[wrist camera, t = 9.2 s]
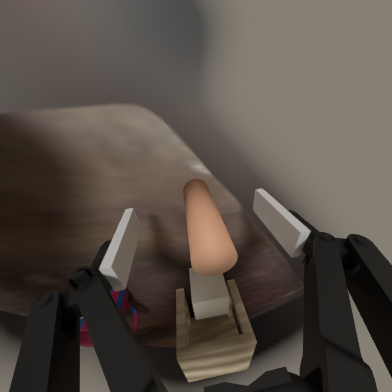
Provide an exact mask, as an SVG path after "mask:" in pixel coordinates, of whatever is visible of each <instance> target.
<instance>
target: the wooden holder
mask: <svg viewBox="0 0 392 392" xmlns="http://www.w3.org/2000/svg"><path fill="white" fill-rule="evenodd" d="M227 290H228V293H229V314H224V315H219V316H214V317H209V318H204V319H199V320H196V318H191V316H190V312H189V308H188V304H187V300H186V296H185V291H184V288H181V289H176V320H177V360H178V362H179V364H180V366H181V368H182V370H183V372H184V374H185V376H186V378H187V380H188V382H192V381H196V380H201V379H205V378H209V377H214V376H219V375H223V374H228V373H232V372H237V371H241V370H246V369H248V367H249V364H250V361H251V358H252V355H253V352H254V349H255V345H256V343H257V341H256V338H255V335H254V333H253V331H252V328H251V325H250V322H249V319H248V317H247V314H246V311H245V308H244V305H243V302H242V300H241V297H240V294H239V291H238V288H237V286H236V283H235V280H234V279H231V280H227ZM233 306H234V310H235V313H236V316H237V320H238V323H239V326H240V330H241V333H242V334H241V335H239V334H238V330H237V327H236V323H235V320H234V316H233V313H232V307H233Z"/></svg>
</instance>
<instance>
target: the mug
mask: <svg viewBox="0 0 392 392" xmlns="http://www.w3.org/2000/svg"><path fill="white" fill-rule="evenodd" d="M110 294H111V295H112V297H113V299H114V301H115V302H116V304H117V306H118V307H119V309H120V311H121V313H122V314H123V316H124V312H125V308H128V309H129V310H130V311H131V312H132V313H133V316H134V326H133V330H132V331H133V333H135V331H136V329H137V325H138V314H137V311H136V309H135V308H134V307H133V306H132V305H131V304H130V303H128V302H127V300H128V296H129V291H128V289H127V288H126V289H125V290H120V291H114V290H113V288H111V291H110ZM80 345H81V346H87V347H94V346H93V343H92V340H91V337H90V335H89V332H88V329H87V327H86V324H85V321H84V318H83V317H81V318H80Z"/></svg>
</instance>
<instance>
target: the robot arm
mask: <svg viewBox="0 0 392 392" xmlns="http://www.w3.org/2000/svg"><path fill="white" fill-rule="evenodd" d="M253 210H254V212H255V213H256V214H257V215H258V217H259V218H260V219H261V220H262V222H263V223H264V224H265V225H266V227H267V228H268V229H269V230H270V232H271V233H272V234H273V235H274V237H275V238H276V239H277V240H278V242H279V243H280V244H281V245H282V247H283V248H284V249H285V250H286V251H287V253H288V254H289V255H290V256H291V257H296V256H300V255H301V252H302V251H303V252H304V253H305V254H306V255H305V257H304V259H303V262H302V263H303V264H305V265H304V322H303V323H304V326H303V356H302V361H301V365H300V376H298V375H296V374H294V373H291V372H288V371H287V369H286V367H282V368H278V369H274V370H271V371H266V372H265V373H264V374H262V375H261V376H260V377H259V378H258V379H256V380H255V381H254V382H253V383H251V384H250V385H249V386H245V385H239V384H232V383H226V382H223V383H219V384H215V385H211V386H207V387H204V392H378V391H377V387H376V382H375V379H374V376H373V372H372V370H371V368H370V367H369V365H367V364H366V363H365V362H364V361H363V359H362V357H361V353H360V348H359V343H358V339H357V333H356V329H355V324H354V319H353V314H352V309H351V305H350V300H349V295H348V291H349V293H350V295H351V297H352V299H353V301H354V303H355V305H356V306H357V309H358V311H359V313H360V315H361V317H362V319H363V321H364V323H365V325H366V327H367V329H368V331H369V333H370V335H371V337H372V339H373V341H374V343H375V345H376V347H377V349H378V351H379V353H380V355H381V357H382V359H383V361H384V363H385V365H386V367H387V369H388V371H389V373H390V375H391V377H392V265H391V264H390V263H389V261H388V260H387V259H386V258H385V257H384V256H383V254H382V253H381V252H380V251H379V250H378V248H377V247H376V246H375V245H374V244H373V242H371V241H370V240H369V239H367V238H366V237H363V236H360V235H357V234H350V235H348V237H347V239H342V238H335V237H334V236H332V235H330V234H328V233H325V232H319V231H318V230H317V229H315V228H314V227H313V226H312V225H310V224H309V223H308V222H307V221H305V220H304V219H303V218H301V216H300V215H298V214H297V213H296V212H294V211H291V210H288V211H287V210H286V209H285V208H284V207H283V206H282V205H280V204H279V203H278V202H277V201H276V200H275V199H274V198H272V197H271V196H270V195H269V194H268V193H267V192H266V191H264V190H263V189H256V190H255V197H254V204H253ZM140 230H141V226H140V224H139V221H138V218H137V216H136V213H135V211H134V208H130V209H126V210H125V212H124V214H123V217H122V219H121V221H120V223H119V226H118V228H117V230H116V232H115V234H114V237H113V239H112V240H110V241H106V242H105V243H104V244H103V245H102V246H101V247H100V249H99V251H98V253H97V255H96V258H95V259H94V261H93V263H92V265H91V267H89V266H83V267H80V268H78V269H76V270H75V271H74V272H72V273H71V275H70V276H69V277H68V279H67V281H66V284H67V285H68V286H69V287H70V289H67V290H65V291H63V292H61V293H60V292H58V291H57V290H51V291H49V292H46V293H45V294H43V295H42V296H41V297H39V298H38V299H37V300H36V301H35V303H34V304H33V305H32V307H31V310H30V313H29V317H28V321H27V325H26V329H25V333H24V337H23V340H22V344H21V348H20V352H19V356H18V360H17V363H16V367H15V371H14V375H13V379H12V382H11V387H10V390H9V392H80V318H81V317H83V318H84V321H85V324H86V327H87V329H88V332H89V335H90V337H91V340H92V343H93V346H94V348H95V351H96V354H97V356H98V359H99V362H100V365H101V367H102V370H103V373H104V375H105V378H106V381H107V383H108V386H109V389H110V392H168V391H167V390H166V388H165V386H164V385H163V383H162V381H161V380H160V378H159V376H158V374H157V373H156V371H155V369H154V367H153V366H152V364H151V362H150V361H149V359H148V357H147V355H146V354H145V352H144V350H143V349H142V347H141V345H140V343H139V342H138V340H137V338H136V337H135V335H134V333H133V331H132V330H131V328H130V326H129V325H128V323H127V321H126V319H125V318H124V316H123V314H122V313H121V311H120V309H119V307H118V306H117V304H116V302H115V301H114V299H113V297H112V295H111V294H110V291H111V288H113V290H114V291H120V290H125V289H126V285H127V281H128V277H129V273H130V269H131V265H132V261H133V258H134V254H135V250H136V246H137V242H138V238H139V234H140ZM347 289H348V291H347Z"/></svg>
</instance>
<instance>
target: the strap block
mask: <svg viewBox="0 0 392 392" xmlns="http://www.w3.org/2000/svg"><path fill="white" fill-rule="evenodd" d="M183 193H184V202H185V211H186V220H187V229H188V238H189V247H190V256H191V265H192V268H189V275H190V286H191V297H192V305H193V309H194V314H195V318H196V320H199V319H204V318H209V317H214V316H219V315H224V314H229V293H228V290H227V286H226V283H225V280H224V276H223V273H224V272H226V271H228V270H229V269H231V268H232V267H233V266H234V265H235V263H236V262H237V259H238V255H237V252H236V250H235V247H234V245H233V243H232V241H231V238H230V236H229V234H228V232H227V229H226V227H225V225H224V223H223V220H222V218H221V216H220V213H219V211H218V209H217V207H216V204H215V202H214V200H213V198H212V195H211V193H210V191H209V189H208V186H207V184H206V183H205V182H204V181H202V180H199V179H194V180H191V181H189V182H188V183H186V185H185V186H184V189H183Z"/></svg>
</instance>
